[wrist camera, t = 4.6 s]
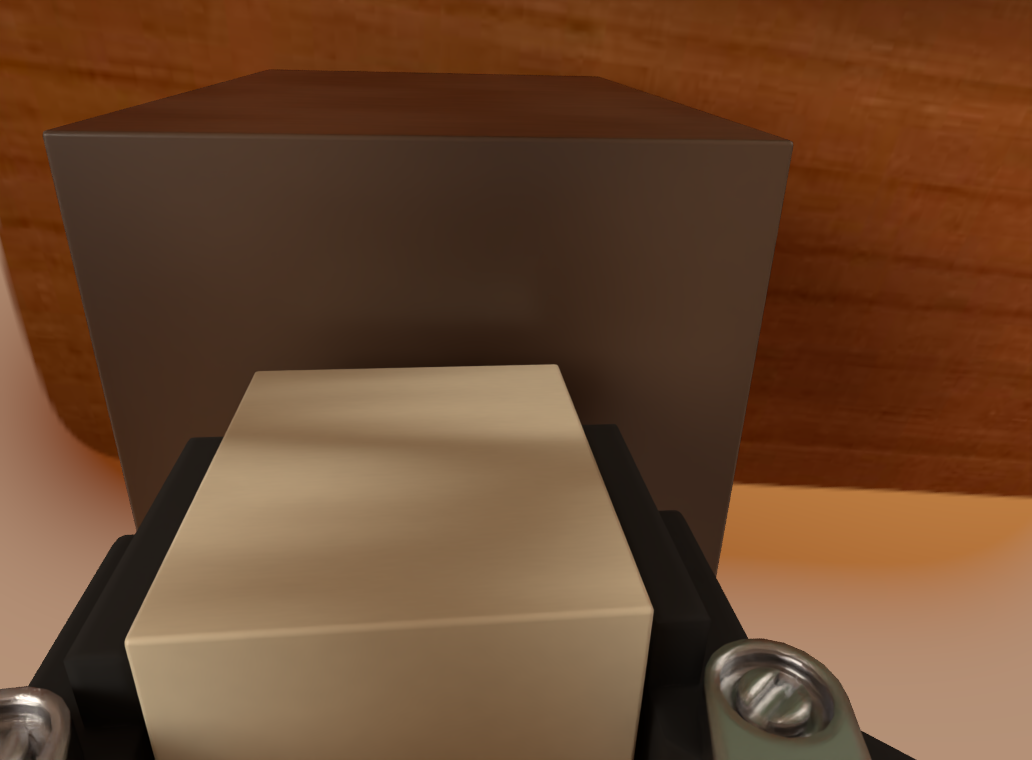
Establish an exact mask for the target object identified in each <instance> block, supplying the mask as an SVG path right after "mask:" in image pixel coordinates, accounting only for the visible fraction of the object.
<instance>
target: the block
mask: <svg viewBox="0 0 1032 760" xmlns="http://www.w3.org/2000/svg"><path fill="white" fill-rule="evenodd" d="M653 614H654V609H653V606H652V604H651V601H650V599H649V596H648V594H647V591H646V589H645V586H644V583H643V581H642V578H641V576H640V573H639V571H638V568H637V566H636V563H635V560H634V558H633V555H632V553H631V550H630V548H629V545H628V543H627V540H626V538H625V535H624V532H623V530H622V527H621V525H620V522H619V520H618V517H617V515H616V512H615V510H614V507H613V504H612V502H611V499H610V497H609V494H608V492H607V489H606V487H605V484H604V481H603V479H602V476H601V474H600V471H599V469H598V466H597V464H596V461H595V459H594V456H593V453H592V451H591V448H590V446H589V443H588V441H587V438H586V436H585V433H584V431H583V428H582V425H581V423H580V420H579V418H578V415H577V413H576V410H575V408H574V405H573V402H572V400H571V397H570V395H569V392H568V390H567V387H566V385H565V382H564V380H563V377H562V374H561V372H560V369H559V367H558V365H555V364H551V365H507V366H462V367H418V368H374V369H330V370H285V371H258V372H255V374H254V376H253V378H252V380H251V382H250V384H249V386H248V388H247V390H246V392H245V395H244V397H243V399H242V401H241V403H240V405H239V407H238V409H237V411H236V413H235V415H234V417H233V419H232V421H231V423H230V425H229V427H228V429H227V431H226V433H225V436H224V438H223V440H222V442H221V444H220V446H219V448H218V450H217V452H216V454H215V456H214V458H213V460H212V462H211V464H210V466H209V468H208V470H207V472H206V474H205V476H204V479H203V481H202V483H201V485H200V487H199V489H198V491H197V493H196V495H195V497H194V499H193V501H192V503H191V505H190V507H189V509H188V511H187V513H186V515H185V517H184V520H183V522H182V524H181V526H180V528H179V530H178V532H177V534H176V536H175V538H174V540H173V542H172V544H171V546H170V548H169V550H168V552H167V554H166V556H165V558H164V561H163V563H162V565H161V567H160V569H159V571H158V573H157V575H156V577H155V579H154V581H153V583H152V585H151V587H150V589H149V591H148V593H147V595H146V597H145V599H144V601H143V604H142V606H141V608H140V610H139V612H138V614H137V616H136V618H135V620H134V622H133V624H132V626H131V628H130V630H129V632H128V634H127V636H126V639H125V648H126V652H127V656H128V660H129V663H130V667H131V671H132V675H133V678H134V682H135V686H136V690H137V693H138V697H139V701H140V705H141V708H142V712H143V716H144V720H145V723H146V727H147V731H148V735H149V739H150V742H151V746H152V750H153V754H154V757H155V760H634V754H635V747H636V739H637V732H638V724H639V717H640V710H641V702H642V695H643V687H644V680H645V673H646V665H647V658H648V650H649V643H650V636H651V628H652V621H653Z"/></svg>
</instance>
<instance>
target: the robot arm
mask: <svg viewBox="0 0 1032 760" xmlns="http://www.w3.org/2000/svg"><path fill="white" fill-rule="evenodd" d="M582 428H583V431H584V433H585V436H586V438H587V441H588V443H589V446H590V448H591V451H592V453H593V456H594V459H595V461H596V464H597V466H598V469H599V471H600V474H601V476H602V479H603V481H604V484H605V487H606V489H607V492H608V494H609V497H610V499H611V502H612V504H613V507H614V510H615V512H616V515H617V517H618V520H619V522H620V525H621V527H622V530H623V532H624V535H625V538H626V540H627V543H628V545H629V548H630V550H631V553H632V555H633V558H634V560H635V563H636V566H637V568H638V571H639V573H640V576H641V578H642V581H643V583H644V586H645V589H646V591H647V594H648V596H649V599H650V601H651V604H652V606H653V609H654V614H653V621H652V628H651V636H650V643H649V650H648V658H647V665H646V673H645V680H644V687H643V695H642V702H641V710H640V717H639V724H638V732H637V739H636V747H635V754H634V760H915V759H914V758H912V757H910V756H908V755H906V754H904V753H902V752H901V751H899V750H897V749H895V748H893V747H891V746H889V745H887V744H885V743H883V742H882V741H880V740H878V739H876V738H874V737H872V736H870V735H868V734H866V733H865V732H862V731H861V730H860V727H859V725H858V722H857V719H856V717H855V714H854V711H853V708H852V706H851V703H850V700H849V698H848V696H847V694H846V692H845V690H844V689H843V687H842V685H841V683H840V682H839V680H838V679H837V678H836V677H835V676H834V675H833V674H832V673H831V672H830V671H829V670H828V669H827V668H826V667H825V665H824V664H822V663H821V662H819V661H818V660H816V659H815V658H813V657H812V656H810V655H809V654H807V653H806V652H804V651H802V650H799V649H797V648H795V647H792V646H790V645H787V644H785V643H782V642H777V641H772V640H767V639H748V637H747V635H746V634H745V632H744V630H743V628H742V626H741V624H740V622H739V620H738V619H737V617H736V615H735V613H734V611H733V609H732V607H731V605H730V603H729V601H728V600H727V598H726V596H725V594H724V592H723V590H722V589H721V586H720V584H719V582H718V580H717V579H716V577H715V575H714V573H713V571H712V569H711V567H710V565H709V563H708V562H707V560H706V558H705V556H704V554H703V552H702V550H701V548H700V546H699V544H698V543H697V541H696V539H695V537H694V535H693V533H692V531H691V529H690V527H689V525H688V524H687V522H686V520H685V518H684V517H683V515H682V514H681V513H680V512H679V511H677V510H663V511H658V509H657V507H656V505H655V503H654V501H653V499H652V497H651V495H650V493H649V490H648V488H647V486H646V484H645V482H644V480H643V478H642V476H641V474H640V472H639V470H638V468H637V466H636V463H635V461H634V459H633V457H632V455H631V453H630V451H629V449H628V447H627V445H626V443H625V441H624V438H623V436H622V434H621V432H620V430H619V428H618V426H617V425H616V424H597V425H582ZM223 438H224V437H194V438H190V439H189V441H188V442H187V444H186V445H185V447H184V449H183V451H182V452H181V454H180V456H179V458H178V459H177V461H176V463H175V465H174V466H173V468H172V470H171V472H170V474H169V475H168V477H167V479H166V481H165V482H164V484H163V486H162V488H161V489H160V491H159V493H158V495H157V496H156V498H155V500H154V502H153V503H152V505H151V507H150V509H149V511H148V512H147V514H146V516H145V518H144V519H143V521H142V523H141V525H140V526H139V528H138V530H137V532H136V534H135V535H124V536H122V537H119V538H118V539H117V541H116V542H115V543H114V544H113V545H112V547H111V549H110V550H109V552H108V554H107V555H106V557H105V559H104V560H103V562H102V564H101V565H100V567H99V569H98V570H97V572H96V574H95V575H94V577H93V579H92V580H91V582H90V584H89V585H88V587H87V589H86V591H85V592H84V594H83V595H82V597H81V599H80V600H79V602H78V604H77V605H76V607H75V609H74V610H73V612H72V614H71V615H70V617H69V619H68V621H67V622H66V624H65V625H64V627H63V629H62V630H61V632H60V634H59V635H58V637H57V639H56V640H55V642H54V644H53V645H52V647H51V649H50V650H49V652H48V654H47V656H46V657H45V659H44V660H43V662H42V664H41V666H40V667H39V669H38V671H37V672H36V674H35V676H34V677H33V679H32V681H31V682H30V684H29V686H26V687H16V688H6V689H0V760H155V757H154V754H153V750H152V746H151V742H150V739H149V735H148V731H147V727H146V723H145V720H144V716H143V712H142V708H141V705H140V701H139V697H138V693H137V690H136V686H135V682H134V678H133V675H132V671H131V667H130V663H129V660H128V656H127V652H126V648H125V639H126V636H127V634H128V632H129V630H130V628H131V626H132V624H133V622H134V620H135V618H136V616H137V614H138V612H139V610H140V608H141V606H142V604H143V601H144V599H145V597H146V595H147V593H148V591H149V589H150V587H151V585H152V583H153V581H154V579H155V577H156V575H157V573H158V571H159V569H160V567H161V565H162V563H163V561H164V558H165V556H166V554H167V552H168V550H169V548H170V546H171V544H172V542H173V540H174V538H175V536H176V534H177V532H178V530H179V528H180V526H181V524H182V522H183V520H184V517H185V515H186V513H187V511H188V509H189V507H190V505H191V503H192V501H193V499H194V497H195V495H196V493H197V491H198V489H199V487H200V485H201V483H202V481H203V479H204V476H205V474H206V472H207V470H208V468H209V466H210V464H211V462H212V460H213V458H214V456H215V454H216V452H217V450H218V448H219V446H220V444H221V442H222V440H223Z"/></svg>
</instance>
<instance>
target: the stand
mask: <svg viewBox="0 0 1032 760" xmlns="http://www.w3.org/2000/svg"><path fill="white" fill-rule="evenodd" d="M43 139H44V143H45V147H46V152H47V156H48V160H49V164H50V168H51V173H52V177H53V181H54V185H55V189H56V194H57V198H58V202H59V206H60V211H61V215H62V219H63V223H64V227H65V232H66V236H67V240H68V244H69V248H70V253H71V257H72V261H73V265H74V269H75V274H76V278H77V282H78V286H79V290H80V295H81V299H82V303H83V307H84V311H85V316H86V320H87V324H88V328H89V332H90V337H91V341H92V345H93V349H94V353H95V358H96V362H97V366H98V370H99V374H100V379H101V383H102V387H103V391H104V395H105V400H106V404H107V408H108V412H109V416H110V421H111V425H112V429H113V433H114V438H115V442H116V446H117V450H118V454H119V459H120V463H121V467H122V471H123V475H124V479H125V484H126V488H127V492H128V496H129V501H130V505H131V509H132V513H133V517H134V521H135V526H136V530H138V528H139V526H140V525H141V523H142V521H143V519H144V518H145V516H146V514H147V512H148V511H149V509H150V507H151V505H152V503H153V502H154V500H155V498H156V496H157V495H158V493H159V491H160V489H161V488H162V486H163V484H164V482H165V481H166V479H167V477H168V475H169V474H170V472H171V470H172V468H173V466H174V465H175V463H176V461H177V459H178V458H179V456H180V454H181V452H182V451H183V449H184V447H185V445H186V444H187V442H188V441H189V439H190V438H194V437H224V436H225V433H226V431H227V429H228V427H229V425H230V423H231V421H232V419H233V417H234V415H235V413H236V411H237V409H238V407H239V405H240V403H241V401H242V399H243V397H244V395H245V392H246V390H247V388H248V386H249V384H250V382H251V380H252V378H253V376H254V374H255V372H258V371H285V370H330V369H374V368H418V367H462V366H507V365H551V364H555V365H558V367H559V369H560V372H561V374H562V377H563V380H564V382H565V385H566V387H567V390H568V392H569V395H570V397H571V400H572V402H573V405H574V408H575V410H576V413H577V415H578V418H579V420H580V423H581V425H597V424H616V425H617V426H618V428H619V430H620V432H621V434H622V436H623V438H624V441H625V443H626V445H627V447H628V449H629V451H630V453H631V455H632V457H633V459H634V461H635V463H636V466H637V468H638V470H639V472H640V474H641V476H642V478H643V480H644V482H645V484H646V486H647V488H648V490H649V493H650V495H651V497H652V499H653V501H654V503H655V505H656V507H657V509H658V511H663V510H677V511H679V512H680V513H681V514H682V515H683V517H684V518H685V520H686V522H687V524H688V525H689V527H690V529H691V531H692V533H693V535H694V537H695V539H696V541H697V543H698V544H699V546H700V548H701V550H702V552H703V554H704V556H705V558H706V560H707V562H708V563H709V565H710V567H711V569H712V571H713V573H714V575H715V577H716V575H717V569H718V563H719V558H720V552H721V547H722V541H723V535H724V530H725V524H726V519H727V513H728V508H729V502H730V496H731V491H732V485H733V480H734V474H735V468H736V463H737V457H738V452H739V446H740V440H741V435H742V429H743V424H744V418H745V413H746V407H747V401H748V396H749V390H750V385H751V379H752V373H753V368H754V362H755V357H756V351H757V345H758V340H759V334H760V329H761V323H762V317H763V312H764V306H765V301H766V295H767V290H768V284H769V278H770V273H771V267H772V262H773V256H774V250H775V245H776V239H777V234H778V228H779V222H780V217H781V211H782V206H783V200H784V194H785V189H786V183H787V178H788V172H789V166H790V161H791V155H792V150H793V142H792V141H790V140H787V139H784V138H781V137H778V136H775V135H772V134H769V133H766V132H763V131H760V130H757V129H754V128H751V127H748V126H745V125H742V124H739V123H736V122H733V121H730V120H727V119H724V118H721V117H718V116H715V115H712V114H709V113H706V112H703V111H700V110H697V109H694V108H691V107H688V106H685V105H682V104H679V103H676V102H673V101H670V100H667V99H664V98H661V97H658V96H655V95H652V94H649V93H646V92H643V91H640V90H637V89H634V88H631V87H628V86H625V85H622V84H619V83H616V82H613V81H610V80H607V79H604V78H601V77H589V76H543V75H497V74H451V73H405V72H358V71H312V70H265V71H262V72H258V73H254V74H251V75H247V76H243V77H240V78H236V79H232V80H229V81H225V82H222V83H218V84H214V85H211V86H207V87H203V88H200V89H196V90H192V91H189V92H185V93H181V94H178V95H174V96H170V97H167V98H163V99H159V100H156V101H152V102H148V103H145V104H141V105H137V106H134V107H130V108H126V109H123V110H119V111H115V112H112V113H108V114H104V115H101V116H97V117H93V118H90V119H86V120H82V121H79V122H75V123H72V124H68V125H64V126H61V127H57V128H53V129H50V130H46V131H44V132H43Z"/></svg>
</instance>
